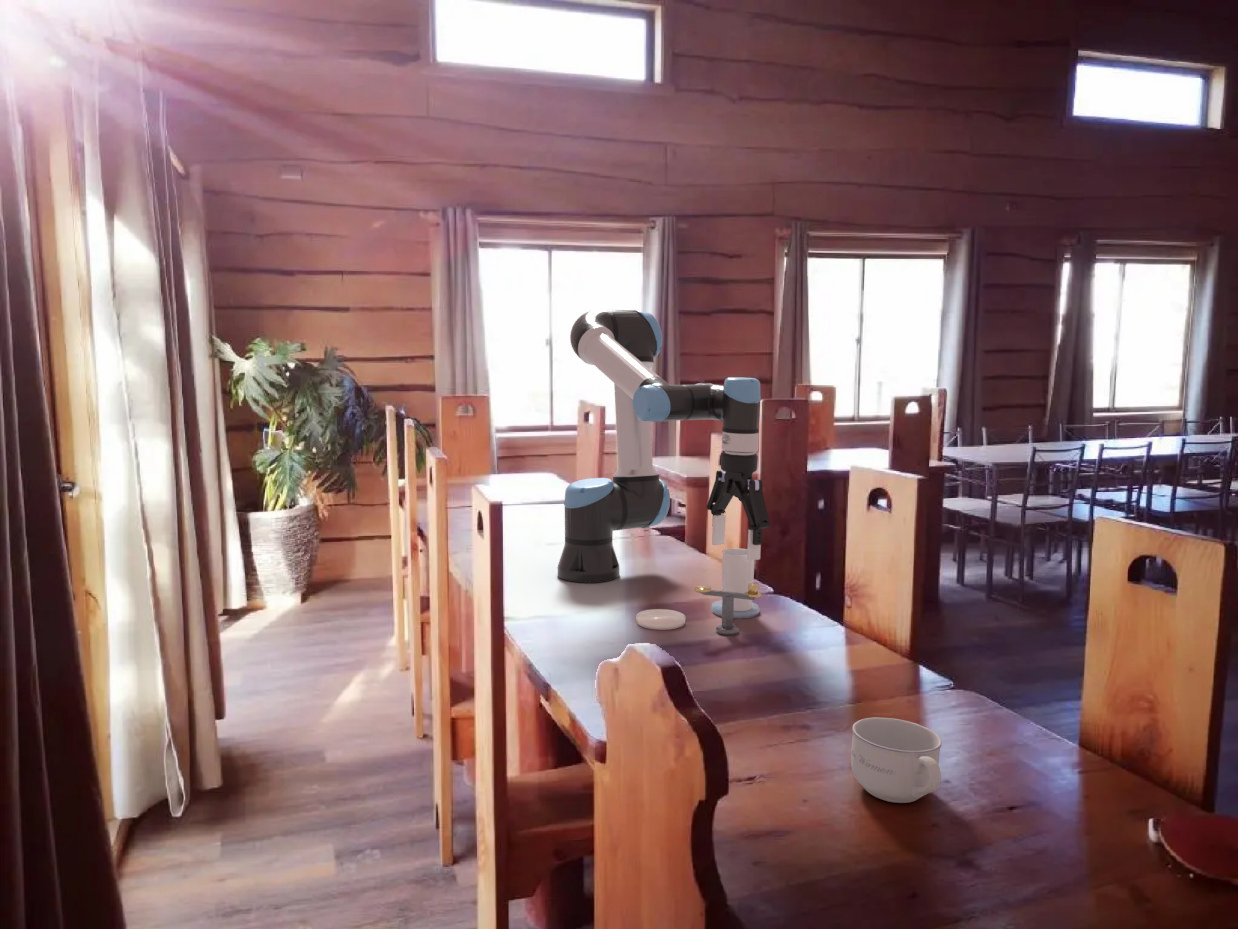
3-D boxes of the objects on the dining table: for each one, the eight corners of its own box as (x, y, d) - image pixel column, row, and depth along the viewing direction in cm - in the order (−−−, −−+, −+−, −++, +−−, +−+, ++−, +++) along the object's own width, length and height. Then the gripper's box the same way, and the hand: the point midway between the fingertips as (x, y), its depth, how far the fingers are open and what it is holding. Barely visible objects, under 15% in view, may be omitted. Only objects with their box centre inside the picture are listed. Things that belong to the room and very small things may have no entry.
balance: (689, 633, 174) (690, 586, 173) (752, 624, 181) (753, 578, 179) (700, 640, 170) (701, 592, 169) (764, 630, 177) (766, 583, 175)
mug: (757, 611, 185) (759, 555, 183) (726, 612, 184) (727, 555, 182) (742, 598, 195) (744, 544, 193) (712, 599, 194) (714, 545, 192)
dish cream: (627, 618, 184) (627, 612, 184) (670, 612, 188) (670, 606, 188) (650, 632, 175) (650, 626, 175) (694, 625, 179) (694, 620, 179)
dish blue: (702, 607, 191) (702, 602, 191) (741, 602, 196) (742, 597, 196) (727, 620, 182) (728, 615, 182) (768, 614, 187) (768, 609, 187)
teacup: (838, 772, 118) (840, 715, 117) (917, 769, 119) (920, 712, 118) (876, 829, 104) (880, 764, 103) (965, 825, 105) (970, 761, 104)
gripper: (693, 445, 194) (690, 540, 197) (758, 461, 172) (753, 568, 175) (722, 443, 197) (719, 537, 201) (790, 460, 175) (785, 564, 178)
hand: (735, 551), depth 188 cm, fingers open, 13 cm apart
